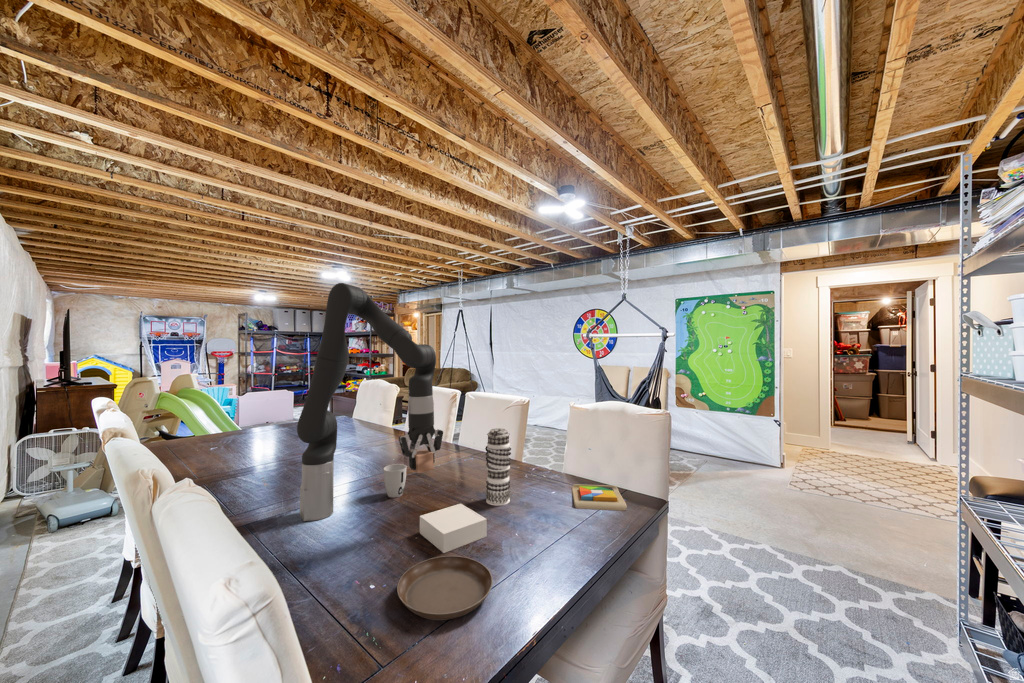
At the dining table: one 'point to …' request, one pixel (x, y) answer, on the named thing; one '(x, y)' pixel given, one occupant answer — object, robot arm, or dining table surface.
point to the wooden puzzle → (598, 497)
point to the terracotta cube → (424, 461)
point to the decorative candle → (498, 467)
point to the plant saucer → (444, 587)
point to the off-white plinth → (453, 527)
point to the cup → (395, 479)
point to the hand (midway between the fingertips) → (422, 467)
